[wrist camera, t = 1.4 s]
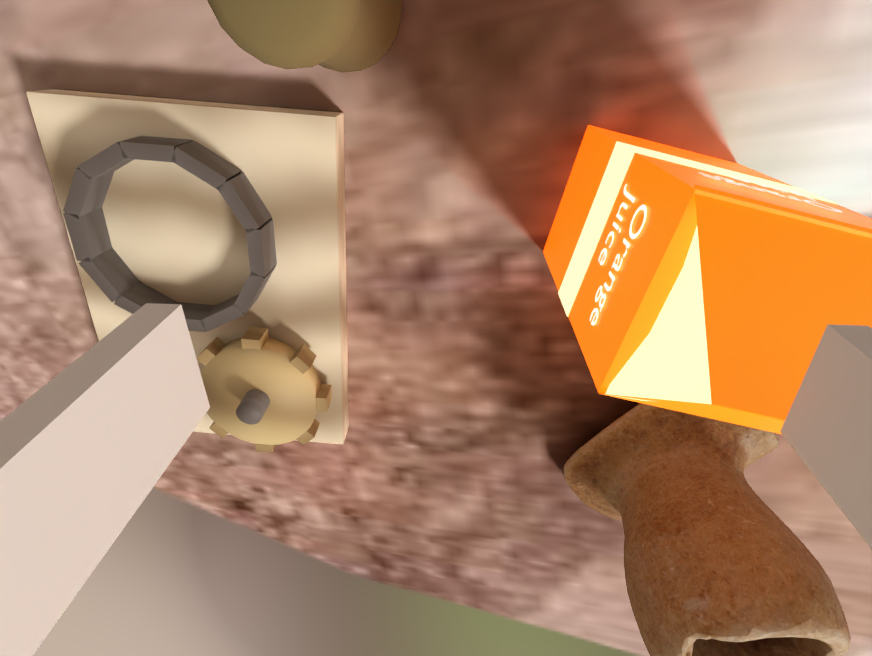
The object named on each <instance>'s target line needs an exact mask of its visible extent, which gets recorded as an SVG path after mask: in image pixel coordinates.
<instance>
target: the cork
mask: <svg viewBox="0 0 872 656" xmlns="http://www.w3.org/2000/svg"><path fill="white" fill-rule="evenodd" d="M208 3H209V5H210V6H211V8H212V10H213V12H214V14H215V16H216V18H217V20H218V22H219V24H220V25H221V27H222V28H223V29H224V30H225V31H226V33H227V34H228V35H229V36H230V37H231V38H232V39H233V40H234V41H235V43H236V44H237V45H238V46H239V47H240V48H242V49H243V50H244V51H246V52H247V53H249V54H251V55H252V56H254V57H255V58H257V59H258V60H260V61H262V62H263V63H265V64H269V65H273V66H277V67H281V68H284V69H294V68H305V67H313V66H315V65H317V64H319V65H321V66H323V67H324V68H328V69H332V70H335V71H339V72H352V71H361V70H363V69H365V68H367V67H369V66H371V65H373V64H375V63H377V62H378V61H379V60H380V59H381V58H382V57H383V56H384V55H385V54H386V53H387V51H388V50H389V49H390V47H391V45H392V43H393V41H394V39H395V37H396V35H397V33H398V30H399V25H400V19H401V13H402V5H401V0H208Z"/></svg>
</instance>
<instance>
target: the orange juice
mask: <svg viewBox="0 0 872 656" xmlns="http://www.w3.org/2000/svg"><path fill="white" fill-rule="evenodd" d="M543 253H544V256H545V258H546V261H547V263H548V266H549V269H550V271H551V274H552V276H553V279H554V281H555V284H556V286H557V289H558V295H559V297H560V300H561V302H562V305H563V308H564V310H565V313H566V315H567V317H569V320H570V322H571V325H572V327H573V330H574V332H575V335H576V337H577V340H578V342H579V345H580V348H581V350H582V353H583V355H584V358H585V360H586V363H587V365H588V368H589V370H590V373H591V376H592V378H593V381H594V383H595V386H596V388H597V391H598V392H599V393H603V394H602V395H607V396H611V397H616V398H620V399H625V400H629V401H634V402H638V403H643V404H647V405H652V406H656V407H661V408H665V409H670V410H674V411H679V412H683V413H688V414H692V415H697V416H701V417H706V418H710V419H715V420H719V421H724V422H728V423H733V424H737V425H742V426H746V427H751V428H755V429H760V430H764V431H769V432H773V433H778V434H782V433H781V432H780V430H781V428H782V426H783V424H784V421H785V419H786V417H787V415H788V412H789V410H790V408H791V406H792V403H793V401H794V399H795V397H796V394H797V392H798V390H799V388H800V385H801V383H802V381H803V378H804V376H805V374H806V372H807V369H808V367H809V365H810V363H811V360H812V358H813V356H814V354H815V351H816V349H817V347H818V345H819V342H820V340H821V338H822V335H823V333H824V331H825V329H826V326H827V324H834V325H867V326H869V327H871V328H872V219H871V218H869V217H866V216H864V215H861V214H859V213H856V212H854V211H852V210H849V209H847V208H844V207H842V206H839V205H838V203H835V202H833V201H830V200H828V199H825V198H823V197H821V196H818V195H816V194H813V193H811V192H808V191H806V190H803V189H801V188H797V187H793V186H791V185H789V184H786V183H784V182H781V181H779V180H776V179H774V178H772V177H769V176H767V175H764V174H762V173H759V172H757V171H755V170H752V169H750V168H747V167H745V166H743V165H740V164H738V163H734V162H730V161H726V160H722V159H719V158H715V157H711V156H707V155H703V154H699V153H695V152H692V151H688V150H684V149H680V148H676V147H672V146H668V145H665V144H661V143H657V142H653V141H649V140H645V139H641V138H638V137H634V136H630V135H626V134H622V133H618V132H614V131H610V130H607V129H603V128H599V127H595V126H591V125H588V126H587V129H586V131H585V134H584V137H583V140H582V143H581V146H580V148H579V151H578V154H577V157H576V160H575V162H574V165H573V168H572V171H571V174H570V177H569V179H568V182H567V185H566V188H565V191H564V194H563V196H562V199H561V202H560V205H559V208H558V211H557V213H556V216H555V219H554V222H553V225H552V227H551V230H550V233H549V236H548V239H547V242H546V244H545V247H544V250H543ZM599 393H598V394H599Z"/></svg>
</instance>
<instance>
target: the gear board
mask: <svg viewBox="0 0 872 656" xmlns="http://www.w3.org/2000/svg"><path fill="white" fill-rule="evenodd" d="M26 94H27V97H28V100H29V104H30V107H31V111H32V114H33V118H34V121H35V124H36V128H37V131H38V135H39V138H40V141H41V145H42V148H43V152H44V155H45V159H46V162H47V165H48V169H49V172H50V176H51V179H52V183H53V186H54V189H55V193H56V196H57V200H58V203H59V206H60V210H61V213H62V217H63V220H64V224H65V227H66V230H67V234H68V237H69V241H70V244H71V248H72V251H73V254H74V258H75V261H76V265H77V268H78V272H79V275H80V278H81V282H82V285H83V289H84V292H85V295H86V299H87V302H88V306H89V309H90V313H91V316H92V319H93V323H94V326H95V330H96V333H97V337H98V340H99V341H100V340H101V339H103V338H104V337H105V336H106V335H108V334H109V333H110V332H111V331H113V330H114V329H115V328H116V327H118V326H119V325H120V324H121V323H122V322H124V321H125V320H126V319H127V318H129V317H130V316H131V315H132V314H134V313H135V312H136V311H137V310H139V309H140V308H141V307H142V306H143V305H145V304H146V303H154V304H181V305H182V309H183V312H184V316H185V320H186V323H187V327H188V330H189V334H190V337H191V341H192V344H193V348H194V352H195V355H196V359H197V362H198V366H199V369H200V373H201V377H202V380H203V384H204V387H205V391H206V394H207V398H208V401H209V405H210V408H209V410H208V411H207V412H206V414H205V415H204V417H203V418H202V419H201V421H200V422H199V424H198V425H197V426H196V428H195V429H194V431H193V432H205V433H216V434H217V435H219V436H220V437H221V438H223V437H224V436H226V435H227V434H228V435H233V436H234V437H237V438H239V439H241V440H244V441H247V442H250V443H255V447H256V451H258V452H270V453H272V452H273V450H274V448H275V446H276V445H278V444H283V443H287V442H290V441H293V440H297V441H299V442H300V443H301V444H302V445H305V444H306V443H307V442H320V443H332V444H344V440H345V437H346V434H347V431H348V427H349V413H348V353H347V293H346V234H345V174H344V115H343V113H339V112H327V111H315V110H302V109H290V108H278V107H266V106H253V105H241V104H229V103H217V102H204V101H192V100H180V99H167V98H155V97H143V96H131V95H118V94H106V93H94V92H82V91H69V90H57V89H51V90H40V91H29V92H26Z"/></svg>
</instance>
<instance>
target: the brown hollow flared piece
mask: <svg viewBox="0 0 872 656" xmlns="http://www.w3.org/2000/svg"><path fill="white" fill-rule="evenodd" d="M778 445H779V439H778V438H777V436H776V434H775V433H773V432H769V431H764V430H760V429H755V428H751V427H746V426H742V425H737V424H733V423H728V422H724V421H719V420H715V419H710V418H706V417H701V416H697V415H692V414H688V413H683V412H679V411H674V410H670V409H665V408H661V407H656V406H652V405H647V404H643V403H640V404H638V405H637V406H635V407H634V408H632V409H631V410H630V411H628V412H627V413H625V414H624V415H623V416H621V417H620V418H618V419H617V420H615V421H614V422H613V423H611V424H610V425H609V426H608V427H606V428H605V429H603V430H602V431H601V432H600V433H598V434H597V435H596V436H594V437H593V438H592V439H591V440H589V441H588V442H587V443H585V444H584V445H583V446H582V447H580V448H579V449H578V450H577V451H576V452H575V453H574V454H573V455H572V456H571V457H570V458H569V460H568V461H567V462H566V463H565V465H564V471H563V473H564V478H565V481H566V482H567V484H568V485H569V487H570V488H571V489H572V491H573V492H574V493H575V494H576V495H577V496H578V497H579V498H580V499H581V500H582V501H583V502H584V503H585V504H587V505H588V506H589V507H591V508H592V509H594V510H595V511H597V512H599V513H601V514H603V515H606V516H608V517H611V518H614V519H617V520H622V521H623V527H624V534H625V540H624V568H625V578H626V585H627V591H628V595H629V599H630V603H631V606H632V610H633V613H634V616H635V619H636V622H637V624H638V627H639V630H640V633H641V636H642V638H643V641H644V643H645V645H646V648H647V650H648V652H649V654H650V656H843V655H844V653H845V652H846V651H847V650H848V648H849V643H850V639H851V637H850V633H849V629H848V625H847V622H846V618H845V615H844V612H843V610H842V607H841V605H840V602H839V600H838V597H837V595H836V593H835V590H834V588H833V585H832V583H831V580H830V579H829V577H828V576H827V574H826V572H825V571H824V569H823V568H822V566H821V565H820V563H819V562H818V561H817V560H816V559H815V557H814V556H813V555H812V554H811V553H810V551H809V550H808V549H807V548H806V547H805V545H804V544H803V543H802V542H801V541H800V540H799V539H798V538H797V536H796V535H795V534H794V533H793V532H792V531H791V530H790V529H789V528H788V527H787V526H786V525H785V524H784V523H783V522H782V521H781V520H780V519H779V518H778V516H777V515H776V514H775V513H774V512H773V511H772V510H771V509H770V508H769V507H768V506H767V505H766V504H765V503H764V502H763V501H762V500H761V499H760V498H759V497H758V496H757V495H756V494H755V492H754V491H753V490H752V488H751V487H750V486H749V485H748V483H747V481H746V480H745V478H744V474H743V472H744V469H745V468H746V467H747V466H749V465H750V464H752V463H753V462H754V461H756V460H758V459H759V458H761V457H762V456H764V455H766V454H767V453H769V452H771V451H772V450H774V449H775V448H777V446H778Z"/></svg>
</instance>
